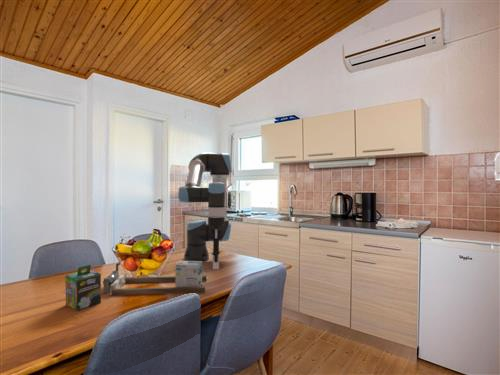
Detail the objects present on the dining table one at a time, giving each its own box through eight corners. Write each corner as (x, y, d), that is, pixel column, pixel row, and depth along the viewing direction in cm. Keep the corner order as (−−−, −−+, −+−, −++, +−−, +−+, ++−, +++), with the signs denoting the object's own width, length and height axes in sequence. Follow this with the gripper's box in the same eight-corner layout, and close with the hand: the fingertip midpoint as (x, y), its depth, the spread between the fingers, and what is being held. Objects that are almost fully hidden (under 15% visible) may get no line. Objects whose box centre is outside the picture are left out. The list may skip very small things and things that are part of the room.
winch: (115, 280, 136) (115, 262, 136) (123, 280, 136) (123, 262, 136) (101, 293, 120) (101, 272, 120) (110, 292, 120) (110, 272, 120)
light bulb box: (202, 284, 132) (202, 260, 132) (198, 289, 126) (198, 264, 126) (180, 282, 134) (180, 259, 133) (174, 288, 127) (174, 263, 127)
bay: (123, 281, 134) (123, 273, 134) (206, 279, 138) (206, 271, 138) (110, 295, 118) (110, 285, 118) (205, 292, 123) (205, 282, 122)
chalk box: (89, 297, 116) (89, 260, 116) (101, 302, 111) (101, 264, 110) (64, 305, 108) (64, 266, 108) (76, 311, 103) (76, 270, 103)
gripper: (208, 215, 137) (207, 264, 137) (207, 218, 124) (207, 273, 124) (224, 215, 137) (223, 264, 137) (225, 218, 124) (224, 272, 124)
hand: (215, 268), depth 130 cm, fingers closed
